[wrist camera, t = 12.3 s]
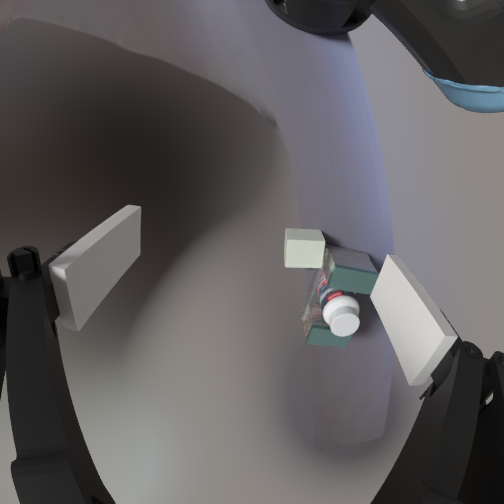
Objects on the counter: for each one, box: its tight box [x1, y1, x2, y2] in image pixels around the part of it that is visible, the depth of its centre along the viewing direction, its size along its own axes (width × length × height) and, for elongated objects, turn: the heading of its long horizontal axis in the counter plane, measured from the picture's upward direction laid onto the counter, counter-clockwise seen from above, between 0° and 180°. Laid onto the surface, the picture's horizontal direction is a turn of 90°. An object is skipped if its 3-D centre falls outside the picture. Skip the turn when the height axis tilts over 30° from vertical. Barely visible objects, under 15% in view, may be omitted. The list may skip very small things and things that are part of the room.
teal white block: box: [301, 244, 379, 348], centre depth 40 cm, size 13×7×7 cm, turn 170°
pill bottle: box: [318, 278, 360, 337], centre depth 38 cm, size 5×5×9 cm
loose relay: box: [284, 228, 325, 268], centre depth 39 cm, size 4×5×4 cm
